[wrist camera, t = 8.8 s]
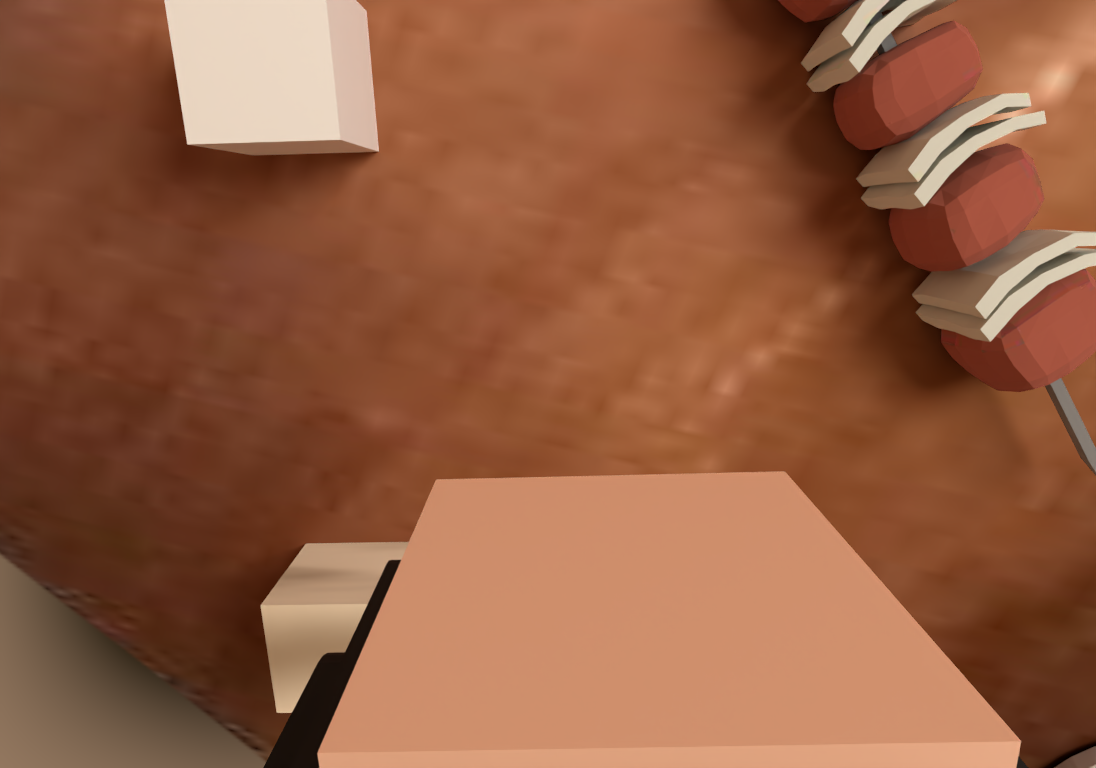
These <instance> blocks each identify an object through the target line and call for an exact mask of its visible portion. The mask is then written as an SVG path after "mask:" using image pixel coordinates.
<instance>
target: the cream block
mask: <svg viewBox="0 0 1096 768" xmlns="http://www.w3.org/2000/svg"><path fill="white" fill-rule="evenodd" d="M165 7H166V13H167V19H168V26H169V32H170V38H171V45H172V51H173V57H174V64H175V70H176V76H177V82H178V89H179V95H180V101H181V108H182V114H183V120H184V127H185V133H186V139H187V145H193V146H199V147H205V148H211V149H217V150H223V151H229V152H235V153H241V154H247V155H253V156H254V155H286V154H319V153H352V152H379V147H378V136H377V124H376V113H375V102H374V91H373V79H372V68H371V57H370V45H369V34H368V23H367V12H366V10H365V9H364V8H363V7H362V6H361V5H360V4H359V3H358V2H357V1H356V0H165Z"/></svg>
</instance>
